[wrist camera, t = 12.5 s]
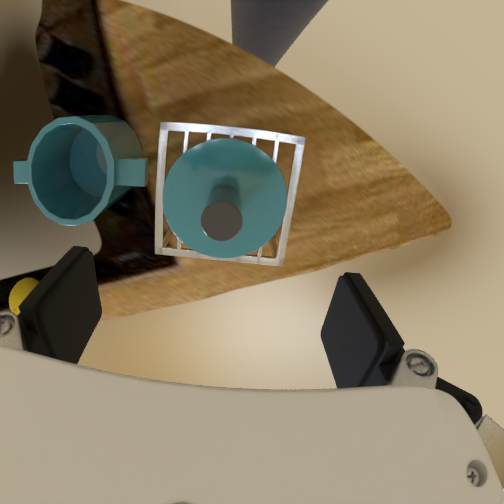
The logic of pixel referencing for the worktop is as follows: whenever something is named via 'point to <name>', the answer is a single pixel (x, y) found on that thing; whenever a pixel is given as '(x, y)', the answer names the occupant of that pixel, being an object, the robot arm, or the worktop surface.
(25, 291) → the lemon
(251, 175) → the lid
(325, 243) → the worktop surface
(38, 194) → the pot
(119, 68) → the worktop surface
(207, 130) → the rack
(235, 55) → the worktop surface
